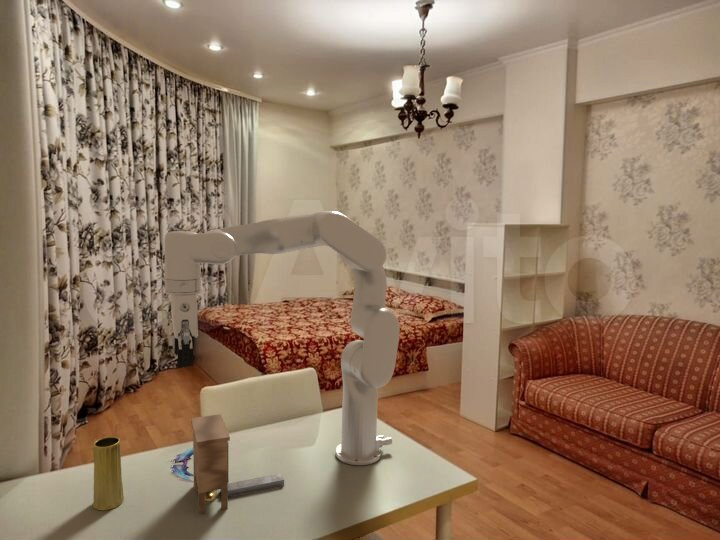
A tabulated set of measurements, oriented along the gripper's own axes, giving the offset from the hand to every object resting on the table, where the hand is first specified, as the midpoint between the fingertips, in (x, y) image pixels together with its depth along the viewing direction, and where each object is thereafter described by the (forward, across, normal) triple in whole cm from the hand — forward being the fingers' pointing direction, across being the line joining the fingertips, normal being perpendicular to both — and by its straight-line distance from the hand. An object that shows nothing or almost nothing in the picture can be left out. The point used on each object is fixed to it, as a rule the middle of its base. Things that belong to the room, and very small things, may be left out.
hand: (183, 360), depth 111 cm
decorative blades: (+32, +12, -1) cm, 34 cm away
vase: (+31, 0, +16) cm, 35 cm away
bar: (+32, -6, -15) cm, 35 cm away
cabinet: (+31, -6, -5) cm, 32 cm away
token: (+32, -6, -4) cm, 32 cm away
